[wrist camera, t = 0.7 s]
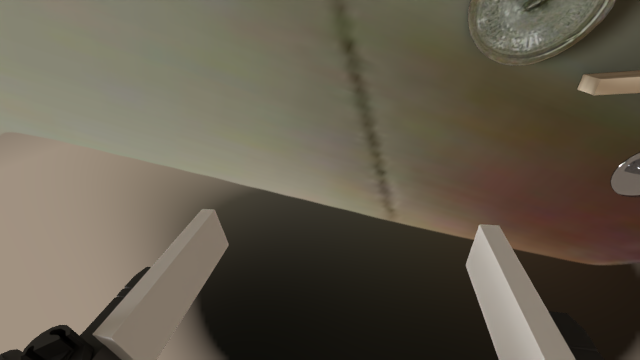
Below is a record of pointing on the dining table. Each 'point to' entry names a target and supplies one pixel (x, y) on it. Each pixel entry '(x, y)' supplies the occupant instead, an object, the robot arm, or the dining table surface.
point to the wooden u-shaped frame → (611, 83)
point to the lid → (532, 27)
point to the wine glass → (627, 177)
